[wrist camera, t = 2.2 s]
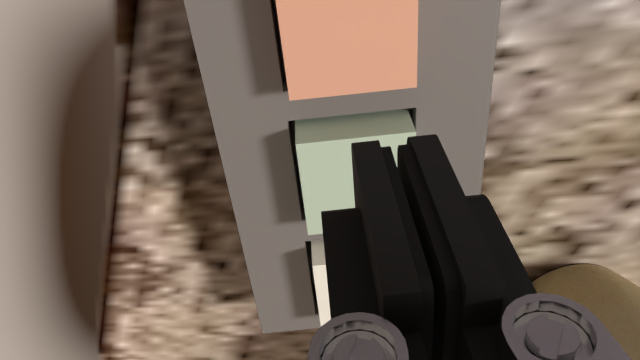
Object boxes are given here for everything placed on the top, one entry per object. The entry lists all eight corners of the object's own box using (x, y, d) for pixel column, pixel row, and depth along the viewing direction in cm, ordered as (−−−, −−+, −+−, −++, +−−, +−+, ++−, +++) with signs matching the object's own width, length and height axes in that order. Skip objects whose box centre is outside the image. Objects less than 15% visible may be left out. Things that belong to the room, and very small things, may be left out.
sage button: (404, 192, 27) (414, 224, 25) (306, 202, 27) (308, 235, 25) (405, 104, 24) (416, 131, 22) (294, 115, 24) (295, 144, 22)
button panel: (452, 270, 34) (468, 313, 31) (264, 289, 34) (262, 333, 31) (482, -127, 21) (513, -117, 18) (181, -94, 21) (164, -78, 18)
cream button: (405, 288, 31) (413, 322, 29) (319, 297, 31) (321, 331, 29) (405, 222, 28) (414, 255, 26) (310, 232, 28) (312, 266, 26)
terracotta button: (405, 62, 23) (417, 87, 21) (289, 74, 23) (289, 100, 21) (405, -64, 20) (419, -49, 18) (272, -50, 20) (270, -33, 18)
